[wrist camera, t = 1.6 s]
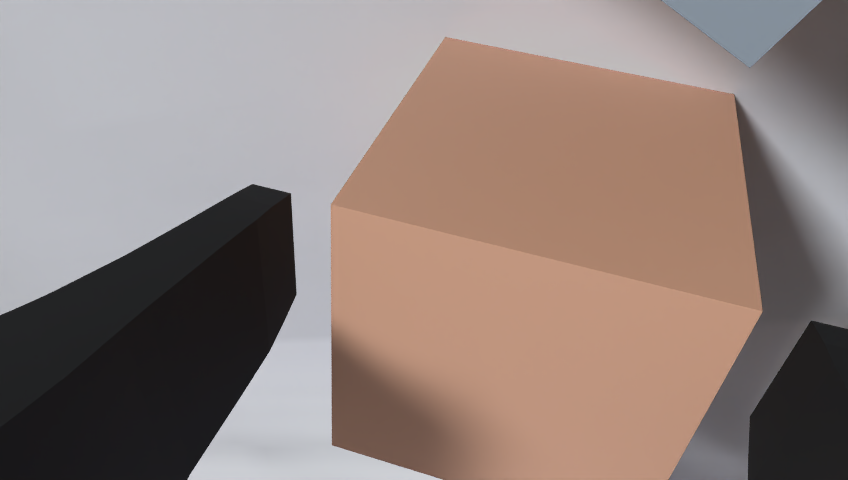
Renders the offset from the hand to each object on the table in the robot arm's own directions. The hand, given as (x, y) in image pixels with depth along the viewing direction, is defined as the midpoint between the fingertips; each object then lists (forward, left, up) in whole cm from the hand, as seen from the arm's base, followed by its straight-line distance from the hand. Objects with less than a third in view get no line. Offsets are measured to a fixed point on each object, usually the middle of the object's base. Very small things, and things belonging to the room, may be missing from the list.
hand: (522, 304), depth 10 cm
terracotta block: (0, 0, -3) cm, 3 cm away
